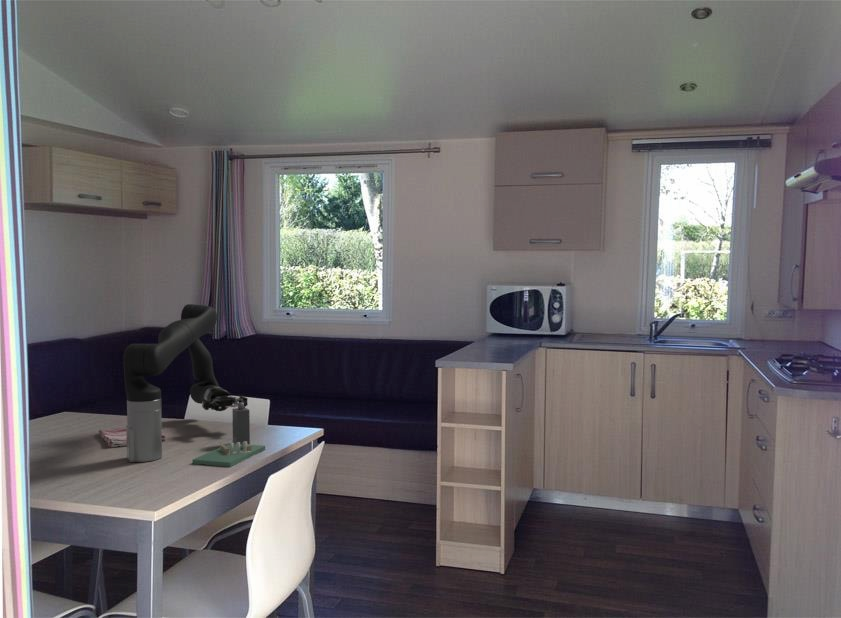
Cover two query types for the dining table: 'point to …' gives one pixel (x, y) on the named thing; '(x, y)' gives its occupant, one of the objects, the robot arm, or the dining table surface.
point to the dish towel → (117, 437)
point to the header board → (229, 454)
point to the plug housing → (241, 424)
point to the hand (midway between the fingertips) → (230, 406)
